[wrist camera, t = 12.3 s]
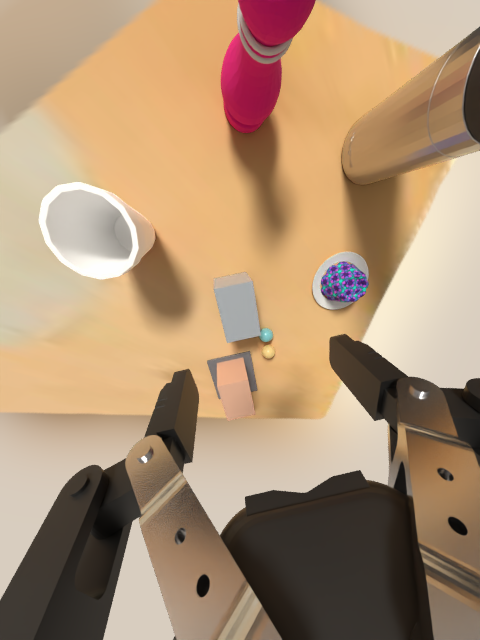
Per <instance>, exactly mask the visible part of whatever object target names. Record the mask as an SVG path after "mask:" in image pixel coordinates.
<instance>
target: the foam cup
mask: <svg viewBox="0 0 480 640" xmlns="http://www.w3.org/2000/svg"><path fill="white" fill-rule="evenodd" d="M39 224H40V227H41V230H42V233H43V236H44V239H45V242H46V244H47V245H48V247H49V248H50V249H51V250H52V252H53V253H54V254H55V255H56V257H57V258H58V259H59V260H60V262H62V263H63V264H65V265H66V266H68V267H69V268H71V269H72V270H74V271H76V272H77V273H79V274H80V275H84V276H88V277H92V278H97V279H101V280H102V279H107V278H112V277H118V276H121V275H123V274H125V273H127V272H128V271H130V270H131V269H132V268H133V267H135V266H136V265H137V264H138V263H139V262H140V260H141V258H142V257H143V256H144V255H145V254H146V253H147V252H148V251H149V250H150V249H151V248H152V247H153V244H154V242H155V230H154V228H153V226H152V225H151V223H150V221H149V220H148V219H146V218H145V217H144V216H143V215H142V214H140V213H139V212H137V211H136V210H134V209H133V208H131V207H130V206H128V205H127V204H126V203H125V202H124V201H122V200H121V199H120V198H119V197H118V196H116V195H115V194H114V193H111V192H108V191H106V190H103V189H100V188H97V187H93V186H90V185H87V184H84V183H81V182H74V183H68V184H62V185H57V186H56V187H55V188H54V189H53V190H52V191H51V192H50V193H48V194H47V195H46V196H45V197H44V198H43V199H42V203H41V209H40V215H39Z"/></svg>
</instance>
